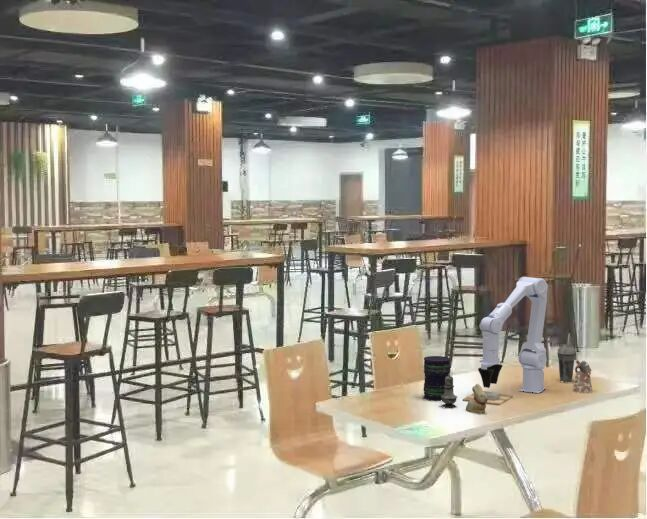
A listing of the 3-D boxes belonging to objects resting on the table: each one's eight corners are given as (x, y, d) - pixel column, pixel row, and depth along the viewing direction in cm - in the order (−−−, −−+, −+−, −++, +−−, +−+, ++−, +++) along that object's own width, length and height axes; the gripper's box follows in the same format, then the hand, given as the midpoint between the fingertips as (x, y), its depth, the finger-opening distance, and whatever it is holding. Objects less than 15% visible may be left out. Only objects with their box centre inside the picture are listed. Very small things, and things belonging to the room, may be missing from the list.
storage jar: (449, 401, 302) (449, 361, 302) (422, 400, 304) (422, 360, 304) (450, 395, 312) (451, 356, 311) (424, 394, 314) (424, 355, 313)
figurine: (588, 394, 314) (589, 363, 313) (570, 391, 318) (570, 360, 318) (594, 390, 320) (595, 360, 319) (576, 388, 324) (577, 358, 323)
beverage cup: (553, 380, 339) (553, 332, 337) (568, 379, 341) (569, 331, 339) (563, 384, 332) (564, 334, 330) (578, 383, 334) (579, 334, 333)
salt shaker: (444, 408, 292) (444, 375, 291) (438, 405, 297) (438, 372, 296) (460, 407, 293) (460, 374, 292) (453, 404, 299) (453, 371, 298)
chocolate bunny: (474, 414, 283) (474, 386, 283) (464, 409, 291) (464, 381, 290) (488, 413, 285) (489, 385, 284) (478, 408, 292) (478, 380, 292)
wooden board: (477, 392, 316) (477, 391, 316) (512, 397, 309) (512, 395, 309) (462, 400, 304) (462, 399, 304) (499, 405, 296) (499, 403, 296)
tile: (479, 390, 310) (473, 393, 305) (500, 392, 306) (494, 396, 301) (479, 395, 310) (473, 398, 305) (500, 397, 306) (494, 400, 301)
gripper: (487, 345, 316) (486, 380, 317) (473, 351, 303) (473, 387, 304) (504, 347, 312) (504, 382, 313) (491, 353, 300) (491, 390, 301)
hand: (490, 385), depth 308 cm, fingers open, 7 cm apart
